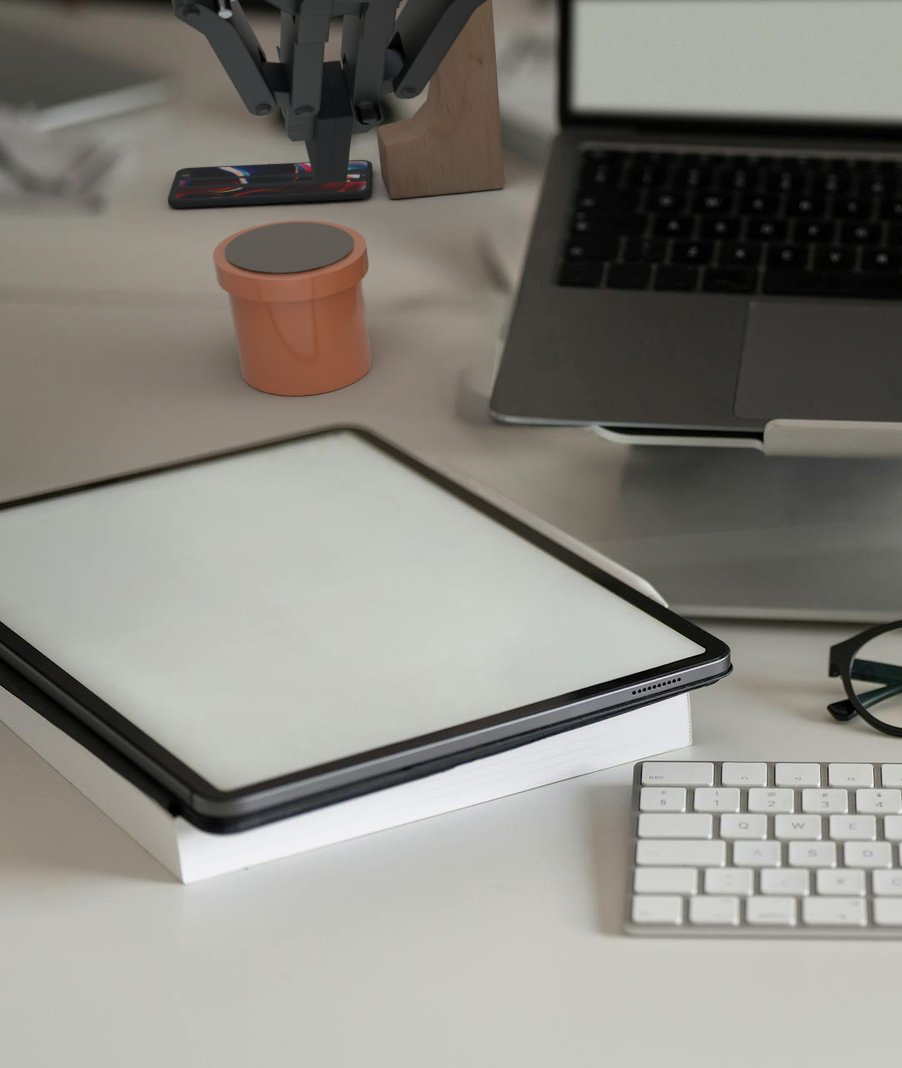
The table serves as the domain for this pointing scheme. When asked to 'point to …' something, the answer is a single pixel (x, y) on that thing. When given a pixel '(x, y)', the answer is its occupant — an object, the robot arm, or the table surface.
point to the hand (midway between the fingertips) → (324, 155)
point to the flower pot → (297, 305)
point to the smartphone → (265, 185)
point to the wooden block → (451, 123)
